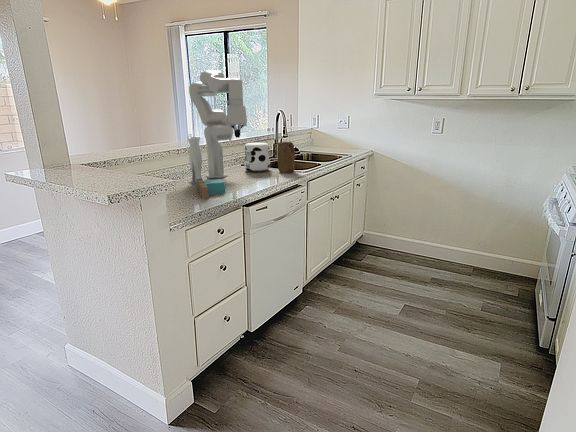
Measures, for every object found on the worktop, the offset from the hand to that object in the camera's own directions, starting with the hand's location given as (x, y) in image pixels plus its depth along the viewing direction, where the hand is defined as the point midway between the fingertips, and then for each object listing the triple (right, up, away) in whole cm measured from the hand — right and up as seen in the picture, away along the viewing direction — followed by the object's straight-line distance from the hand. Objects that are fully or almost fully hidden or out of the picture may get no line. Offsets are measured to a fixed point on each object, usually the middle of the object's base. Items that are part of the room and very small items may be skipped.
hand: (237, 137), depth 210 cm
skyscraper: (-26, -24, +15) cm, 39 cm away
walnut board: (-17, -32, -10) cm, 38 cm away
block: (+27, -15, +43) cm, 53 cm away
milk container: (+7, -13, +47) cm, 50 cm away
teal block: (-12, -31, -6) cm, 34 cm away
